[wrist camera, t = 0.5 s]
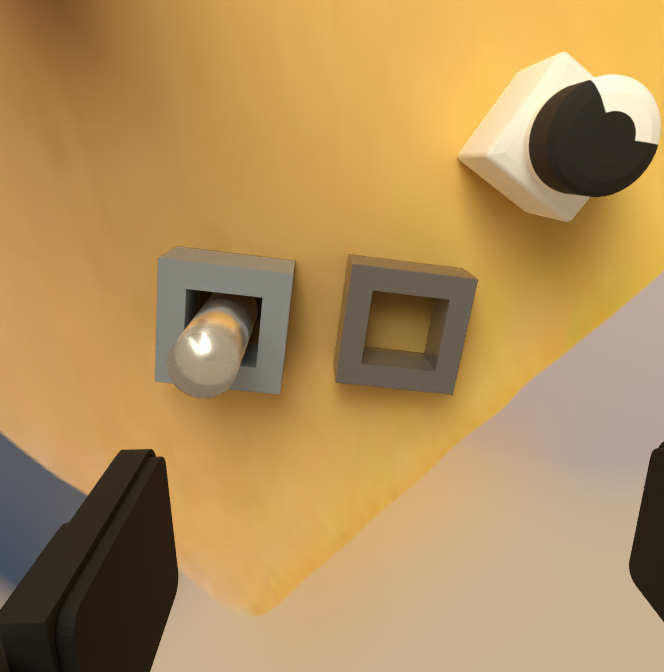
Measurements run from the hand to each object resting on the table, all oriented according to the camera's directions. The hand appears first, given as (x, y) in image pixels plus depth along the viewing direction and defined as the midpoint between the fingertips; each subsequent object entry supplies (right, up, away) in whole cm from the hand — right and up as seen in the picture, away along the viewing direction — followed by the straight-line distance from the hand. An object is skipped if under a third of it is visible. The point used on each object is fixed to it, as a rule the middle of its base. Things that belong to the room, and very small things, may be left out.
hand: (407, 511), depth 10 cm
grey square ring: (+4, +5, +32) cm, 33 cm away
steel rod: (-9, +5, +31) cm, 33 cm away
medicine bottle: (+12, +17, +28) cm, 36 cm away
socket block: (-9, +5, +31) cm, 33 cm away
